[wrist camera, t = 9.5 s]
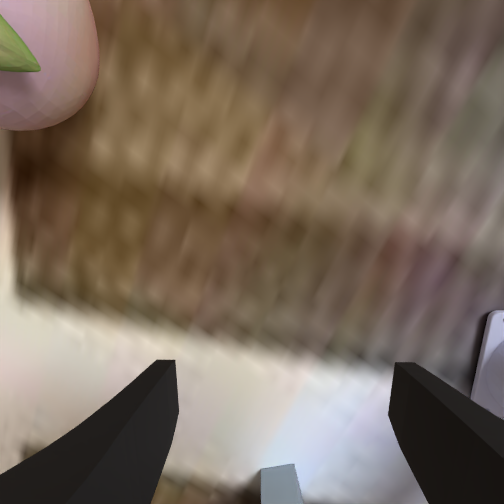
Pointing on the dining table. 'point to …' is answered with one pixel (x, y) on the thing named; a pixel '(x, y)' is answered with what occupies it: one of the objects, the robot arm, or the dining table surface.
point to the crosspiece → (280, 485)
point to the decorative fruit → (45, 61)
